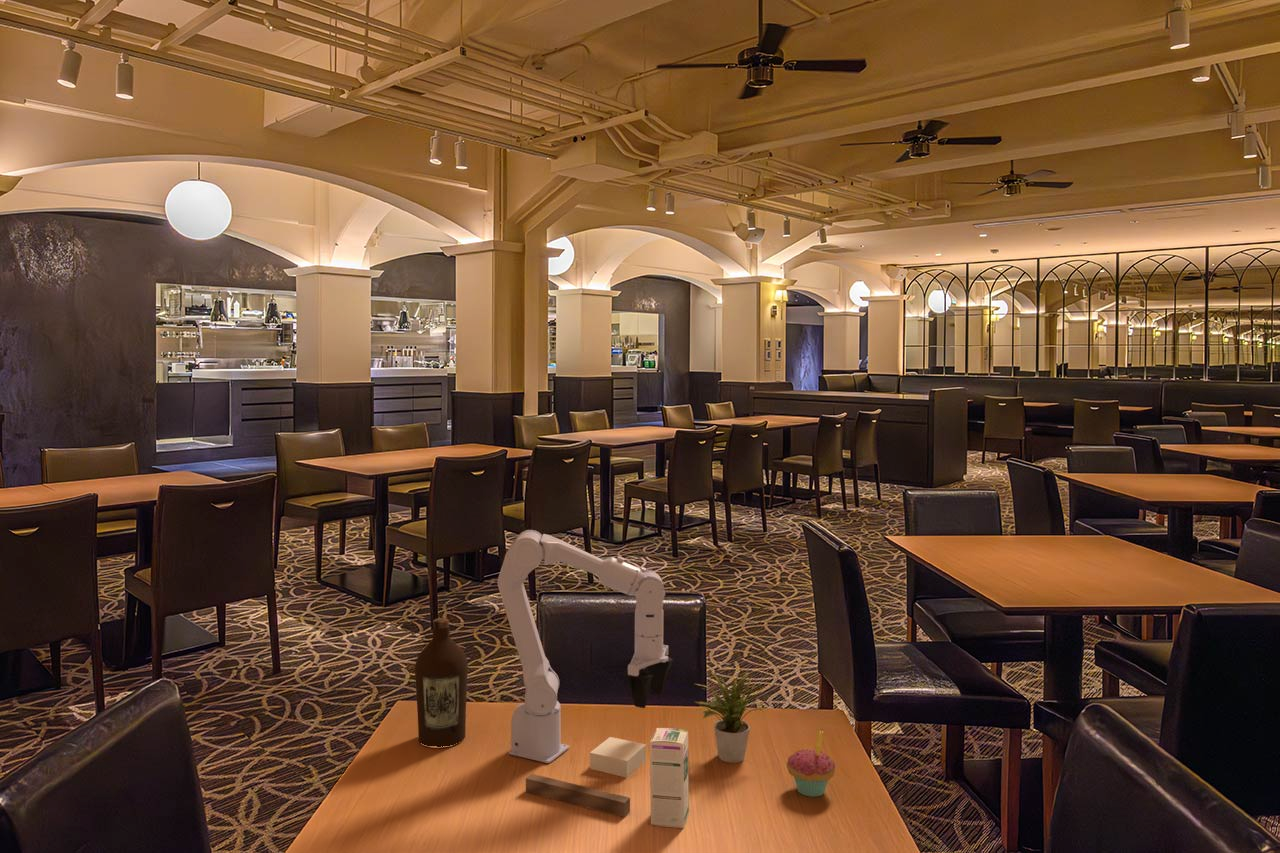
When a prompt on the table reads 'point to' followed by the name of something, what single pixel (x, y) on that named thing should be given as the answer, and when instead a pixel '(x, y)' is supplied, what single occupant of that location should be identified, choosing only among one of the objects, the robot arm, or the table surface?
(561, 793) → the stop rail
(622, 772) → the wooden block
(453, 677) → the olive oil
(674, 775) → the syrup box
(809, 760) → the cupcake
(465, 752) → the table surface
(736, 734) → the house plant
